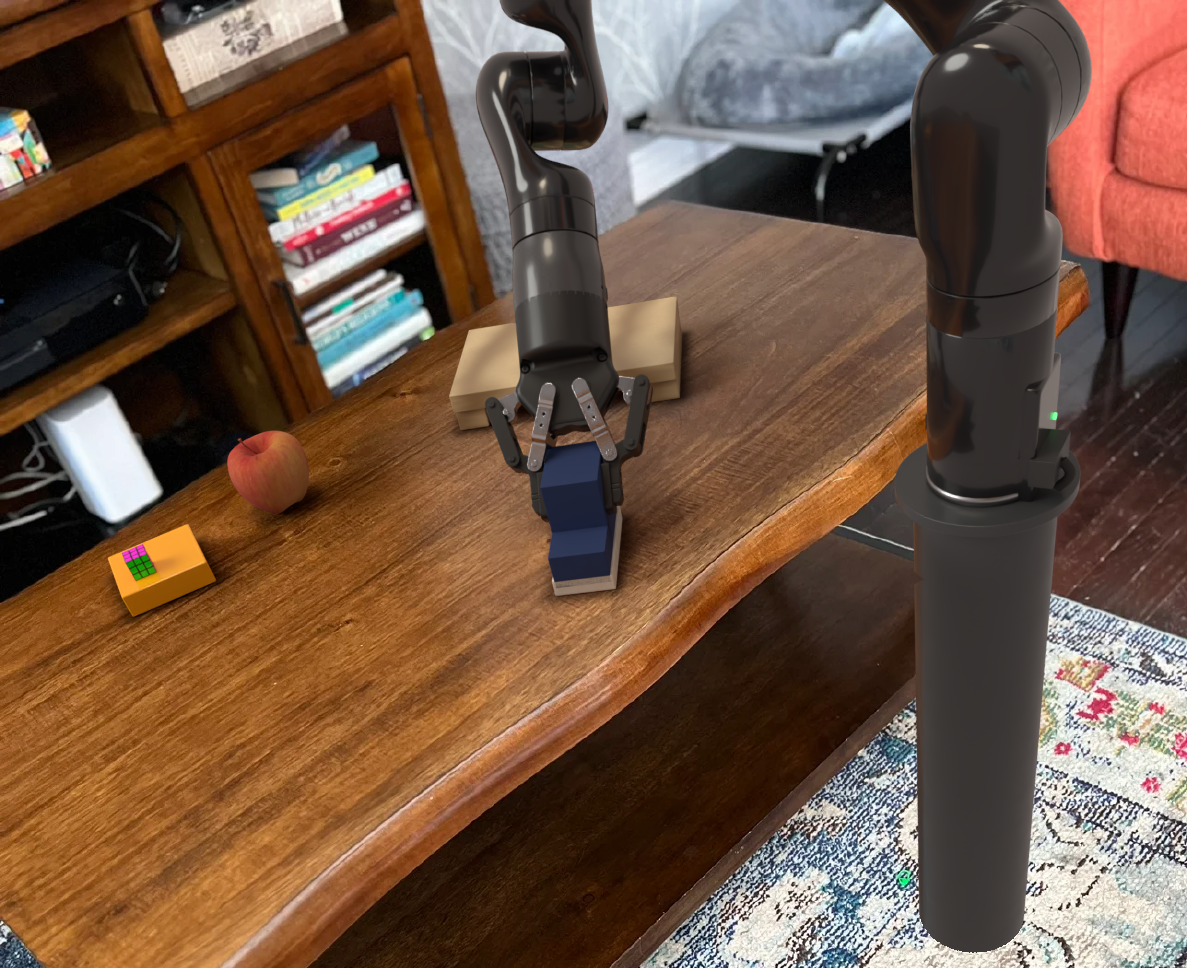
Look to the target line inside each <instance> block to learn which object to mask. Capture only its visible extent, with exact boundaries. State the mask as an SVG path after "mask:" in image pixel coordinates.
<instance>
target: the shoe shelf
mask: <svg viewBox="0 0 1187 968" xmlns="http://www.w3.org/2000/svg"><path fill="white" fill-rule="evenodd" d="M607 307H608V318H609V329H610V340H611V352H612V362H613V366H614V368H615V370H616V371H617V373H618V375H619V376H625V377H633V378H636V377H637V376H638V375H641V374H643V375H646V376H647V377H648V379H649V381H650V383H651V385H652V388H653V395H652V401H651V403H655V402H656V403H657V402H661V401H667V400H669V401H670V400H676V399H680V398H681V375H682V352H683V351H682V350H683V332H682V323H681V319H680V318H681V317H680V309H679V301H678V297H677V296H670V297H663V298H658V299H650V300H645V301H639V302H634V303H628V304H621V305H614V306H607ZM519 378H520V366H519V355H518V344H517V333H516V322H511V323H505V324H499V325H492V326H485V327H479V328H473V329H469V330H468V332H467V336H466V339H465V342H464V346H463V348H462V352H461V356H460V359H459V361H458V366H457V368H456V372H455V375H454V379H453V382H452V385H451V389H450V392H449V395H448V398H449V401H450V404H451V407H452V411H453V413H454V414H455V416H456V419H457V423H458V426H459V429H460V431H466V430H472V429H480V428H485V427H490V426H491V421H490V419H489V416H488V413H487V411H486V408H485V402H486V400H487V399H488V398H489V397H495V398H497V399H500V398H502V397H505V396H507V395H509V394H511V393H513V392H516V386H517V384H518V381H519Z"/></svg>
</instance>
